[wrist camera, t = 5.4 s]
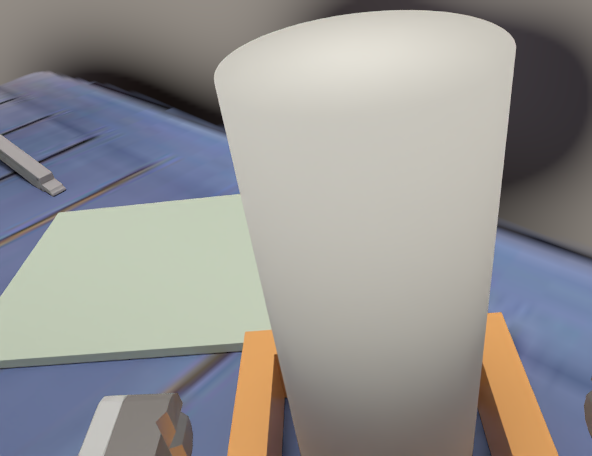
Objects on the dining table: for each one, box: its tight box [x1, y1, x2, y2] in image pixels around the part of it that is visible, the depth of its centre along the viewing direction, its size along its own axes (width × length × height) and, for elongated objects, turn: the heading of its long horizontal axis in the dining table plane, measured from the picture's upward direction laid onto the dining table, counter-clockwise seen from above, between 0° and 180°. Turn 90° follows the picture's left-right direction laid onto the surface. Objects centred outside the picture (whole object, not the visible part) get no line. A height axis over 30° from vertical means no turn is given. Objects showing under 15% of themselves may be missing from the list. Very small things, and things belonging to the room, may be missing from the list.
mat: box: [0, 194, 272, 368], centre depth 28 cm, size 15×12×1 cm
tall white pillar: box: [214, 10, 516, 456], centre depth 13 cm, size 5×5×14 cm
